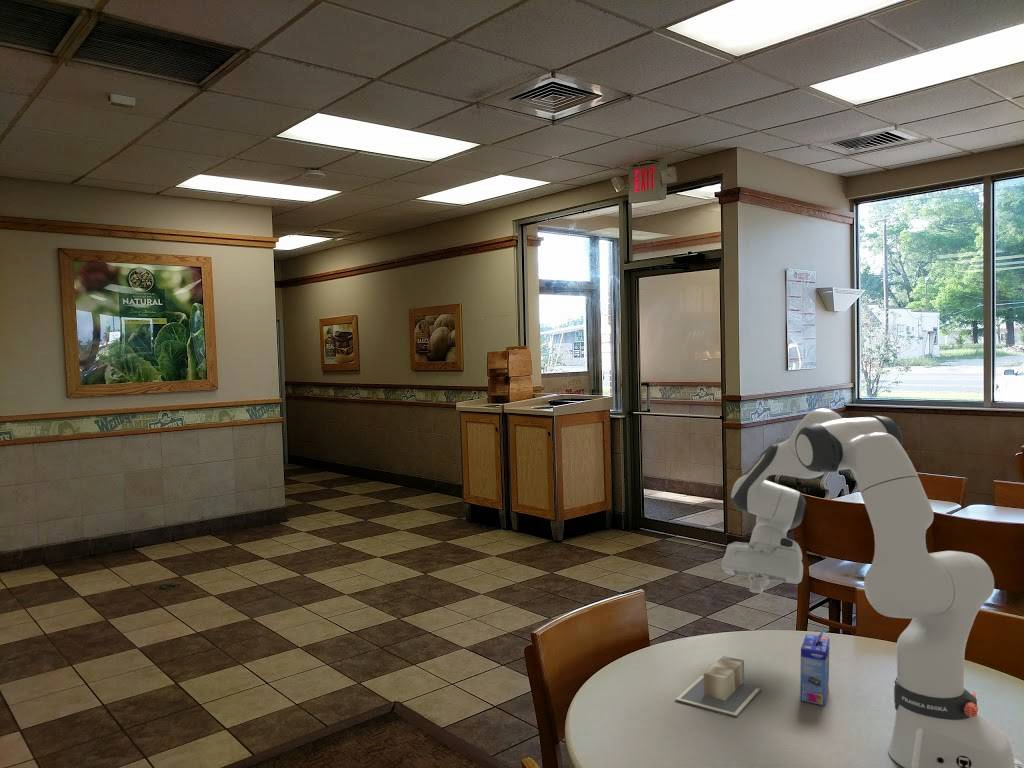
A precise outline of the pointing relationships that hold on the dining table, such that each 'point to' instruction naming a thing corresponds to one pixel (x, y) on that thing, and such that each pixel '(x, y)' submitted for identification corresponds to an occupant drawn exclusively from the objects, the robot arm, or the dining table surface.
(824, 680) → the ink cartridge box
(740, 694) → the rubber mat
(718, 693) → the birch block
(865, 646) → the dining table surface
